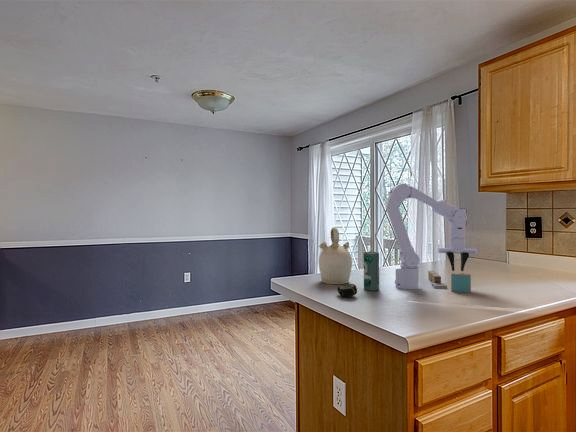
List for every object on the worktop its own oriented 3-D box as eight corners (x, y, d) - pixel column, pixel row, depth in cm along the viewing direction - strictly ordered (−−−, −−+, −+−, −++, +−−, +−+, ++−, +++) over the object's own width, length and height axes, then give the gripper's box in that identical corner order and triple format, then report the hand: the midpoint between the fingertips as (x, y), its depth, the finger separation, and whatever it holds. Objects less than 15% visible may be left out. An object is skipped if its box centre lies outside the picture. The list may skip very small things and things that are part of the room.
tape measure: (355, 290, 134) (353, 281, 133) (359, 296, 127) (357, 286, 127) (338, 294, 134) (336, 285, 133) (341, 300, 127) (339, 291, 126)
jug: (317, 285, 151) (316, 228, 151) (320, 278, 166) (319, 226, 166) (352, 285, 148) (352, 228, 148) (352, 278, 164) (351, 226, 163)
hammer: (425, 279, 161) (425, 270, 161) (437, 279, 160) (436, 271, 160) (434, 288, 142) (434, 278, 142) (447, 288, 141) (447, 279, 141)
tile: (451, 291, 136) (451, 273, 136) (450, 290, 139) (450, 272, 139) (470, 292, 134) (470, 274, 134) (469, 291, 136) (469, 273, 136)
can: (363, 287, 146) (363, 251, 146) (378, 287, 145) (377, 251, 145) (364, 290, 140) (364, 253, 140) (379, 290, 139) (379, 253, 139)
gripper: (439, 238, 141) (439, 271, 141) (479, 239, 137) (479, 273, 137) (437, 237, 148) (437, 268, 148) (475, 237, 143) (475, 270, 144)
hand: (457, 270), depth 143 cm, fingers open, 3 cm apart
